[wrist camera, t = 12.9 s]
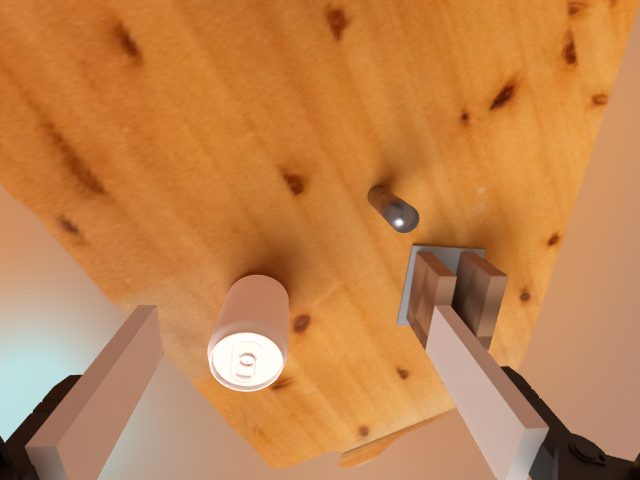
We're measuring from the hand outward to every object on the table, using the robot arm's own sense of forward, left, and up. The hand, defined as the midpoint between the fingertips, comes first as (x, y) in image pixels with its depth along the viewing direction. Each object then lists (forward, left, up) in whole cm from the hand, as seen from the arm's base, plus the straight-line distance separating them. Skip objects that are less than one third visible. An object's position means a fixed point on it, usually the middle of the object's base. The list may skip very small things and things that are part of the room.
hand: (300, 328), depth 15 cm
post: (-2, +10, -25) cm, 27 cm away
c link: (+10, +20, -24) cm, 33 cm away
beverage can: (+13, -4, -25) cm, 29 cm away
